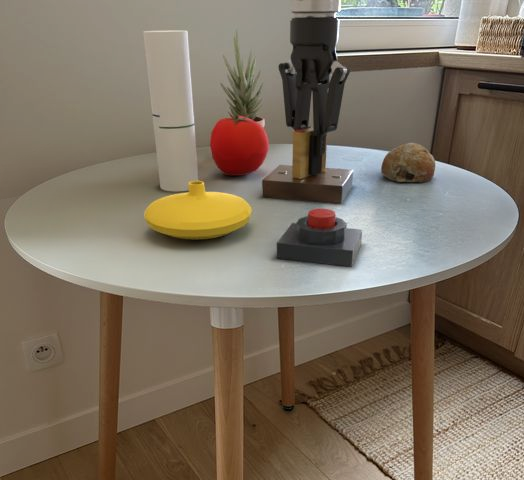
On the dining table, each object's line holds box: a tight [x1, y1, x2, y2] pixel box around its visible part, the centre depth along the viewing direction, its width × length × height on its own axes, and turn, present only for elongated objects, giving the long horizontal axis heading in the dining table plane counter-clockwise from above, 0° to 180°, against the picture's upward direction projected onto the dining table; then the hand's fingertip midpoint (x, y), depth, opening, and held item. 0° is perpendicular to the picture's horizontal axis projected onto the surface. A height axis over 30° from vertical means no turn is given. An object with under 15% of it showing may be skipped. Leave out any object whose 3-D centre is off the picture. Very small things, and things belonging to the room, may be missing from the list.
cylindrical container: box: [142, 29, 199, 193], centre depth 95 cm, size 7×7×25 cm
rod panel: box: [261, 164, 354, 205], centre depth 97 cm, size 14×11×3 cm
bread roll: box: [380, 142, 436, 183], centre depth 104 cm, size 10×10×8 cm
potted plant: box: [220, 27, 266, 128], centre depth 116 cm, size 10×10×25 cm
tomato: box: [209, 111, 270, 176], centre depth 105 cm, size 12×12×11 cm
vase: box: [143, 180, 253, 241], centre depth 79 cm, size 16×16×7 cm
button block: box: [276, 215, 363, 267], centre depth 73 cm, size 10×8×4 cm
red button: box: [307, 208, 337, 229], centre depth 71 cm, size 4×4×2 cm
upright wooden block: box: [291, 127, 328, 179], centre depth 94 cm, size 7×2×8 cm, turn 136°
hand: (309, 171), depth 96 cm, fingers closed on upright wooden block, 2 cm apart
